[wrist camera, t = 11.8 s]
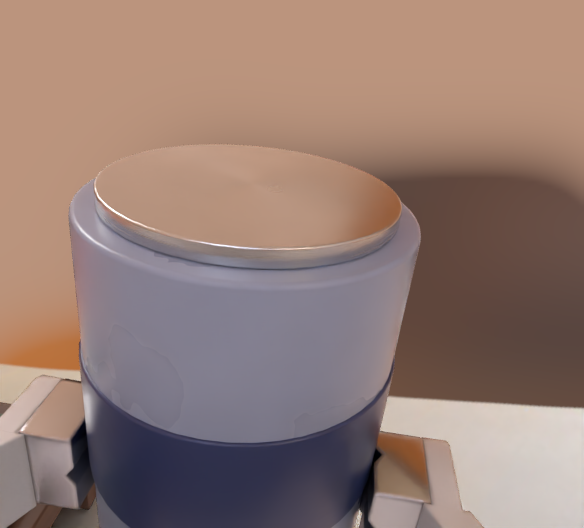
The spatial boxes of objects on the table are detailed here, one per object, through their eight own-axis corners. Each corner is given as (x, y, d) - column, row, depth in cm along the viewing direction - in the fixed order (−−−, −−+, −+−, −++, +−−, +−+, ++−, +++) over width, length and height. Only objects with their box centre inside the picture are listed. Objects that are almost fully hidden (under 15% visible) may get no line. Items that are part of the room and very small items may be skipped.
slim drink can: (326, 583, 16) (414, 160, 10) (309, 823, 12) (456, 295, 5) (157, 552, 17) (147, 125, 11) (73, 772, 12) (-32, 223, 6)
